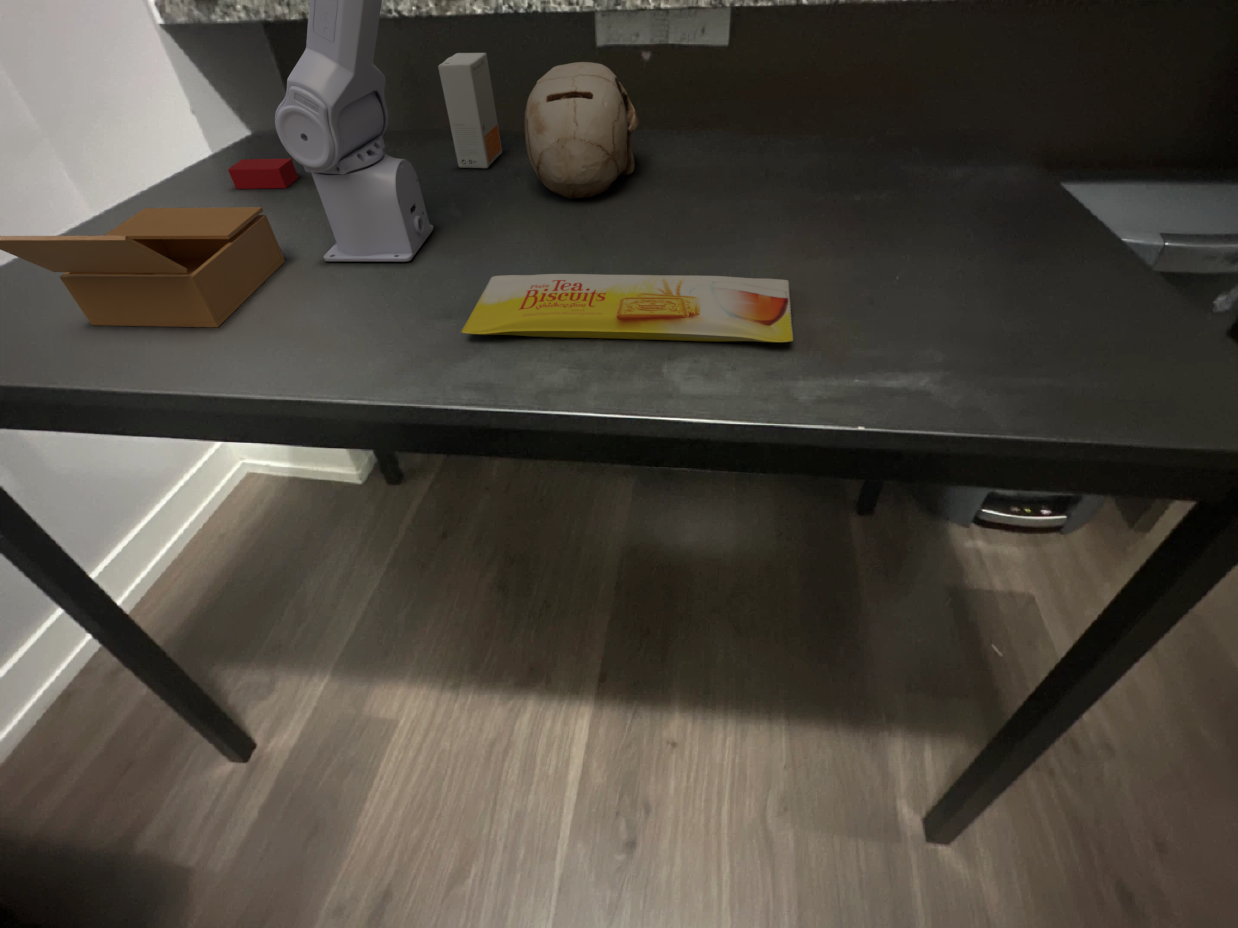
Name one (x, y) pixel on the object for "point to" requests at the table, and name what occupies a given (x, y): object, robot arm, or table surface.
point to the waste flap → (89, 254)
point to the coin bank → (579, 129)
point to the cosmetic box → (471, 109)
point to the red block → (263, 173)
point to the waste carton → (196, 239)
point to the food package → (635, 307)
